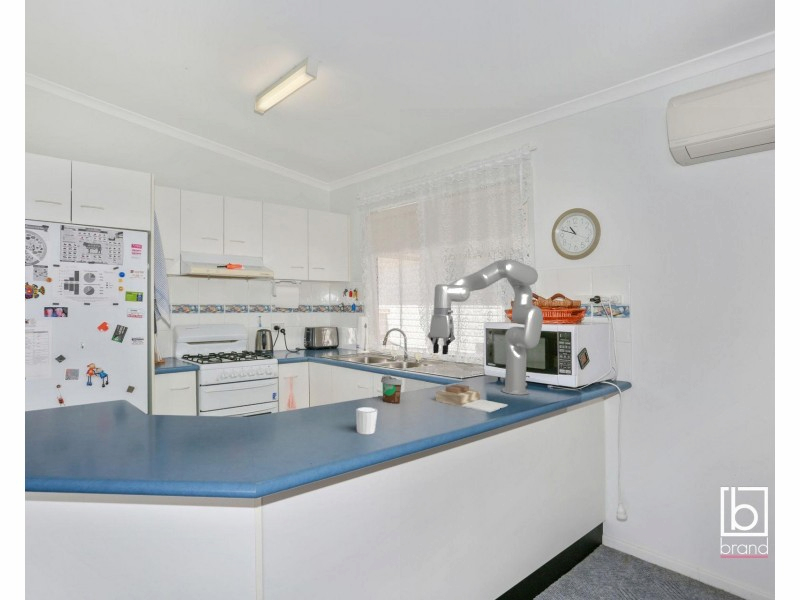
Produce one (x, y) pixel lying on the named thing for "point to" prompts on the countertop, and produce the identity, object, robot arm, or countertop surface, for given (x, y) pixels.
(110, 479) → the countertop surface
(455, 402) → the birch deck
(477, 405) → the white folded cloth
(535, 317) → the robot arm
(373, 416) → the white fluted cup
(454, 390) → the walnut tile
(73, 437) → the countertop surface
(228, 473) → the countertop surface
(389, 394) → the food container
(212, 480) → the countertop surface
